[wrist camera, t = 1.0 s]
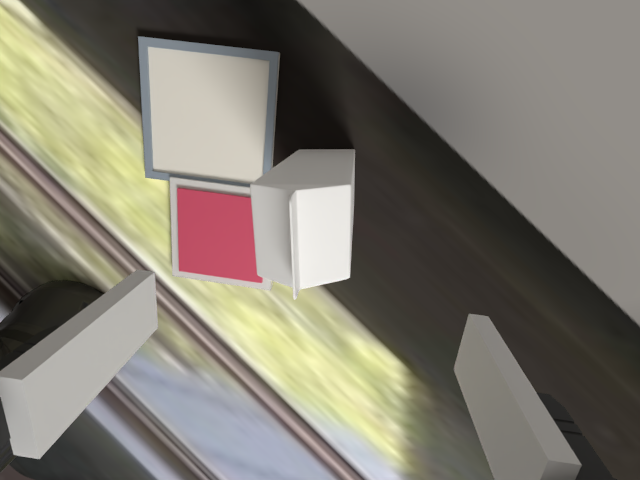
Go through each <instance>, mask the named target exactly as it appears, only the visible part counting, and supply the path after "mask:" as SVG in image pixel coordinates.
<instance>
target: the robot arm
mask: <svg viewBox="0 0 640 480" xmlns="http://www.w3.org/2000/svg"><path fill="white" fill-rule="evenodd" d="M157 328H158V320H157V303H156V286H155V272H151V271H144V270H136V271H135V272H133V273H132V274H131V275H129V276H128V277H127V278H125V279H124V280H122V281H121V282H120V283H118V284H117V285H116V286H114V287H113V288H112V289H110V290H109V291H108V292H106V293H105V294H104V295H103V294H102V293H101V292H99V291H97V290H96V289H94V288H92V287H89V286H87V285H85V284H82V283H78V282H74V281H65V280H59V281H52V282H48V283H46V284H43V285H41V286H39V287H38V288H36V289H34V290H32V291H31V292H29V293H27V294H26V295H25V296H23V297H22V298H21V299H20V300H19V301H18V302H17V304H16V305H15V306H14V308H13V310H12V312H11V313H10V314H9V315H8V316H6V317H5V318H4V319H3V320H2V322H1V323H0V473H1V472H2V470H4V469H5V467H6V466H7V465H8V464H9V463H10V462H11V461H12V460H13V459H14V458H15V457H16V456H23V457H30V458H36V459H40V458H41V457H42V456H43V455H44V454H45V452H46V451H47V450H48V449H49V448H50V447H51V446H52V445H53V444H54V442H55V441H56V440H57V439H58V438H59V437H60V436H61V435H62V434H63V432H64V431H65V430H66V429H67V428H68V427H69V426H70V425H71V424H72V422H73V421H74V420H75V419H76V418H77V417H78V416H79V415H80V414H81V412H82V411H83V410H84V409H85V408H86V407H87V406H88V405H89V404H90V402H91V401H92V400H93V399H94V398H95V397H96V396H97V395H98V394H99V392H100V391H101V390H102V389H103V388H104V387H105V386H106V385H107V384H108V382H109V381H110V380H111V379H112V378H113V377H114V376H115V375H116V374H117V372H118V371H119V370H120V369H121V368H122V367H123V366H124V365H125V364H126V363H127V361H128V360H129V359H130V358H131V357H132V356H133V355H134V354H135V353H136V351H137V350H138V349H139V348H140V347H141V346H142V345H143V344H144V343H145V341H146V340H147V339H148V338H149V337H150V336H151V335H152V334H153V333H154V331H155V330H156V329H157ZM454 372H455V374H456V377H457V380H458V382H459V385H460V388H461V390H462V393H463V396H464V398H465V401H466V404H467V407H468V409H469V412H470V415H471V417H472V420H473V423H474V425H475V428H476V431H477V433H478V436H479V439H480V442H481V444H482V447H483V450H484V452H485V455H486V458H487V460H488V463H489V466H490V468H491V471H492V474H493V477H494V479H495V480H617V479H614V478H613V477H612V475H611V474H610V472H609V471H608V469H607V468H606V467H605V465H604V464H603V462H602V461H601V459H600V458H599V456H598V455H597V454H596V452H595V451H594V449H593V448H592V446H591V445H590V443H589V442H588V441H587V439H586V438H585V436H583V435H582V432H581V430H580V429H579V428H578V426H577V425H576V424H574V420H573V419H572V418H571V416H570V415H569V413H568V412H567V410H566V409H565V407H563V406H562V405H561V404H560V403H559V402H558V401H557V400H555V399H554V398H553V397H552V396H551V395H549V394H542V393H536V392H535V390H534V388H533V387H532V385H531V384H530V382H529V380H528V379H527V377H526V376H525V374H524V373H523V371H522V369H521V368H520V366H519V365H518V363H517V361H516V360H515V358H514V357H513V355H512V353H511V352H510V350H509V349H508V347H507V346H506V344H505V342H504V341H503V339H502V338H501V336H500V334H499V333H498V331H497V330H496V328H495V327H494V325H493V323H492V322H491V320H490V319H489V317H488V316H482V315H474V314H469V315H468V319H467V323H466V326H465V330H464V334H463V337H462V341H461V344H460V348H459V352H458V355H457V359H456V363H455V366H454Z"/></svg>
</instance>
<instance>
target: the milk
mask: <svg viewBox="0 0 640 480" xmlns="http://www.w3.org/2000/svg"><path fill="white" fill-rule="evenodd" d="M354 176H355V149H300V150H298V151H296V152H295V153H293V154H292V155H291V156H289V157H288V158H286V159H285V160H284V161H282V162H281V163H279V164H278V165H276V166H275V167H274V168H272V169H271V170H269V171H268V172H267V173H265V174H264V175H262V176H261V177H260V178H258V179H257V180H255V181H254V182H252V183H251V184H250V192H251V205H252V217H253V230H254V242H255V255H256V268H257V275H258V276H260V277H263V278H266V279H268V280H271V281H274V282H277V283H280V284H283V285H286V286H289V287H292V288H293V298H294V299H296V298H297V295H298V292H299V290H300V289H304V288H309V287H313V286H318V285H322V284H327V283H331V282H336V281H340V280H345V279H348V278H349V277H350V266H351V249H352V231H353V213H354Z"/></svg>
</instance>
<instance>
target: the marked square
mask: <svg viewBox="0 0 640 480" xmlns="http://www.w3.org/2000/svg"><path fill="white" fill-rule="evenodd" d="M138 43H139V62H140V82H141V101H142V120H143V139H144V159H145V178H152V179H160V180H167V181H170V177H178V178H185V179H193V180H200V181H208V182H215V183H223V184H230V185H238V186H245V187H250V184H251V183H252V182H254V181H255V180H257V179H258V178H260V177H261V176H262V175H264V174H265V173H267V172H268V171H269V170H271V169H272V166H273V151H274V136H275V121H276V106H277V91H278V76H279V61H280V53H279V52H273V51H264V50H255V49H246V48H237V47H228V46H219V45H211V44H202V43H193V42H184V41H175V40H166V39H157V38H148V37H139V36H138Z"/></svg>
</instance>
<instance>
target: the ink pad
mask: <svg viewBox="0 0 640 480" xmlns="http://www.w3.org/2000/svg"><path fill="white" fill-rule="evenodd" d="M170 204H171V239H172V273H173V276H176V277H183V278H190V279H196V280H203V281H210V282H216V283H223V284H230V285H237V286H243V287H250V288H257V289H263V290H271V288H272V286H273V281H271V280H268V279H266V278H263V277H260V276H258V275H257V268H256V255H255V242H254V230H253V217H252V205H251V192H250V187H245V186H238V185H230V184H223V183H215V182H208V181H200V180H193V179H185V178H178V177H170Z"/></svg>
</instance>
